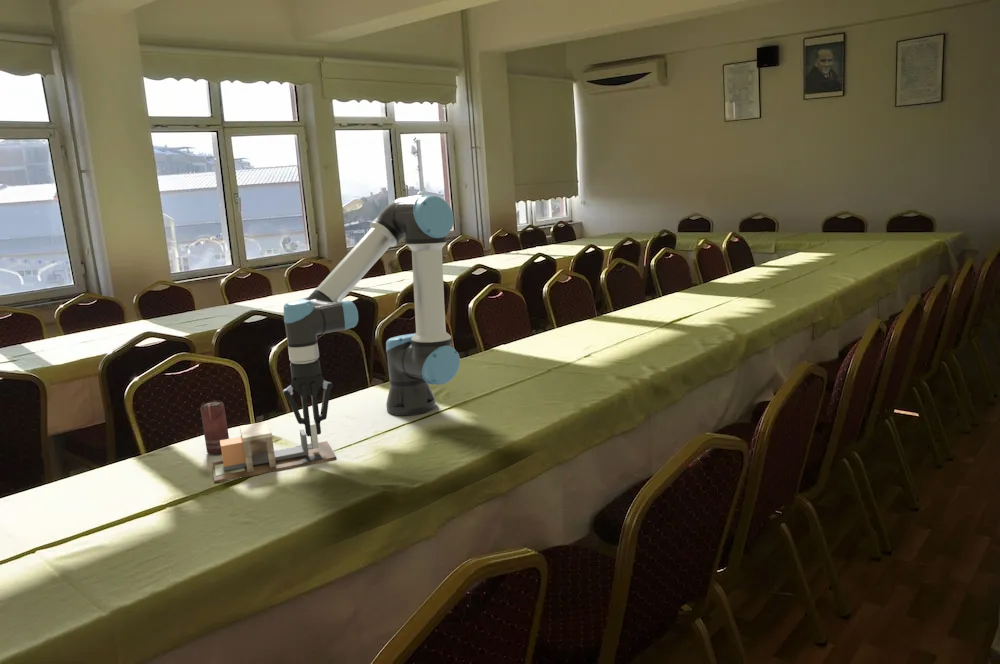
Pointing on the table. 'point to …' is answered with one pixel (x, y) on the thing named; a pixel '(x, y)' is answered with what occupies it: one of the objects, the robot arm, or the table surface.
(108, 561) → the table surface
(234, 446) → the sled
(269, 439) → the tunnel board
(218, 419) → the can
